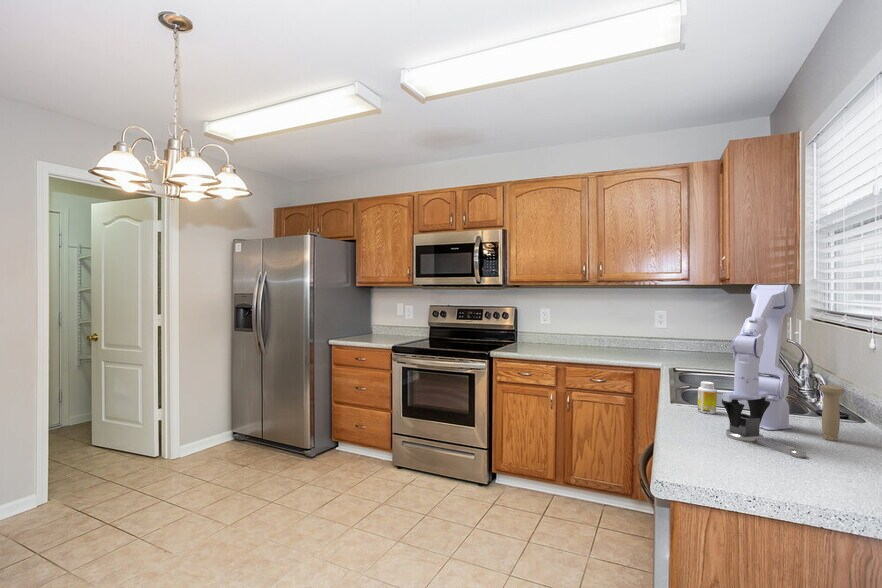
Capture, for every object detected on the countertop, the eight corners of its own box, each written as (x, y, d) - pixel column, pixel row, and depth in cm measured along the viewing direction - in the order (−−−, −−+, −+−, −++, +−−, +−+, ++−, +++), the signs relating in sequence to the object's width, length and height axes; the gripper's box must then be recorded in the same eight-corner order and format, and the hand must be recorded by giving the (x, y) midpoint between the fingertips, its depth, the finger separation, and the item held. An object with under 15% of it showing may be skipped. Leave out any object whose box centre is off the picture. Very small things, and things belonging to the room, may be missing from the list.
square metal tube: (742, 430, 130) (743, 413, 130) (759, 435, 126) (759, 418, 126) (729, 431, 129) (729, 414, 129) (745, 437, 124) (746, 419, 124)
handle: (843, 439, 127) (845, 387, 127) (839, 444, 123) (840, 390, 123) (821, 435, 131) (823, 384, 131) (816, 439, 127) (818, 386, 126)
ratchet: (742, 431, 133) (742, 415, 133) (817, 456, 113) (818, 438, 113) (718, 433, 130) (718, 417, 130) (791, 459, 110) (791, 441, 110)
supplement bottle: (720, 413, 152) (720, 383, 152) (708, 415, 150) (709, 384, 150) (705, 409, 157) (706, 380, 157) (693, 410, 155) (694, 381, 155)
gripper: (739, 381, 121) (738, 431, 121) (779, 379, 125) (778, 427, 125) (716, 376, 128) (715, 423, 128) (755, 374, 132) (754, 420, 132)
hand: (745, 425), depth 127 cm, fingers open, 7 cm apart
